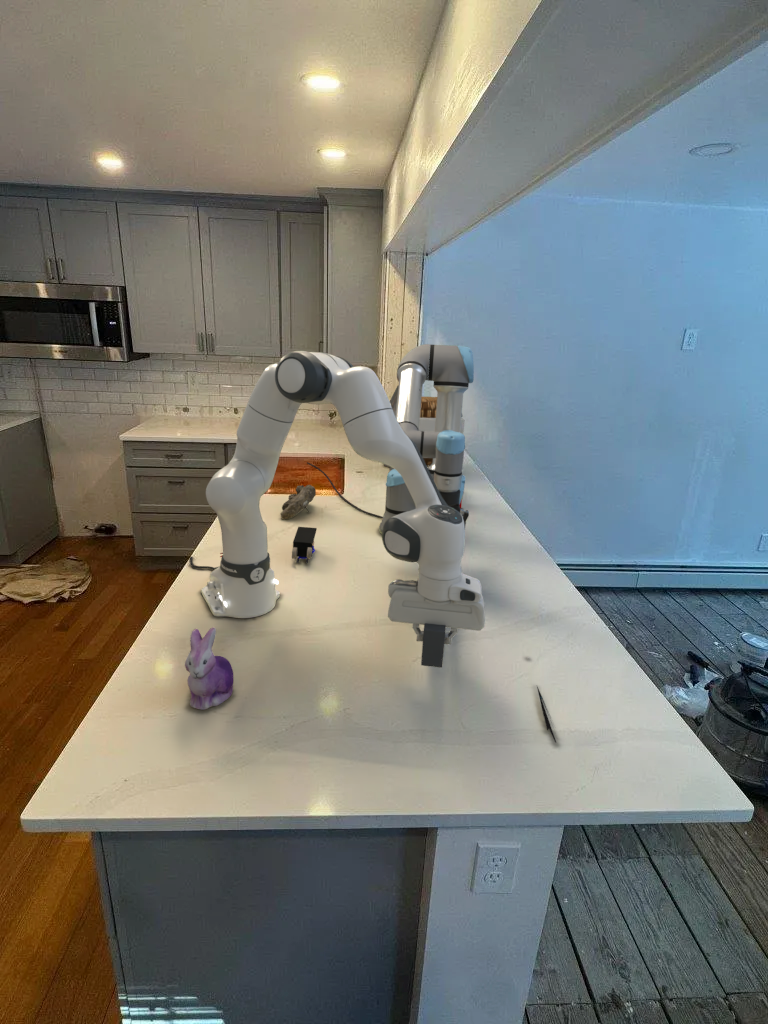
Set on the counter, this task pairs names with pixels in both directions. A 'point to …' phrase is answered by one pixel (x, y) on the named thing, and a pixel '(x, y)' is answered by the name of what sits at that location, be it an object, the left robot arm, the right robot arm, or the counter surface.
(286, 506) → the fossil
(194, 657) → the figurine
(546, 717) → the feather
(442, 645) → the beam
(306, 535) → the figurine character
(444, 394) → the right robot arm
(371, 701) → the counter surface
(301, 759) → the counter surface
